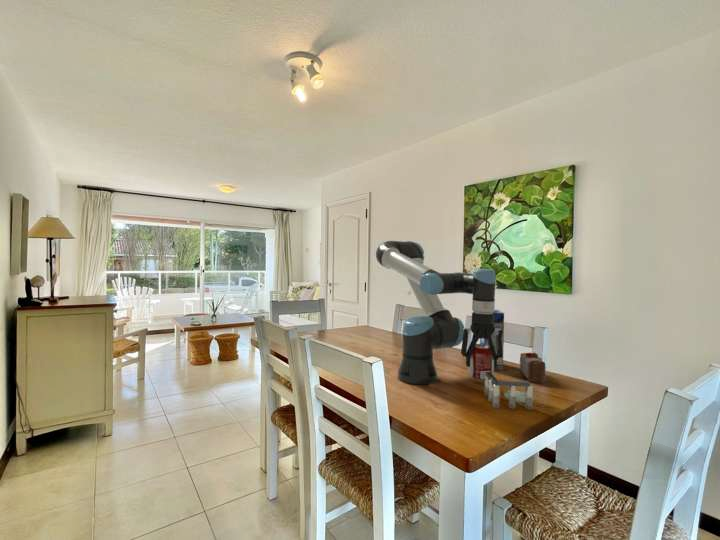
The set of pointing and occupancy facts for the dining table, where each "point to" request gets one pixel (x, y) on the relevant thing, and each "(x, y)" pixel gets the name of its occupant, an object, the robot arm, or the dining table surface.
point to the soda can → (481, 361)
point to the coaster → (517, 396)
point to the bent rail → (494, 391)
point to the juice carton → (498, 325)
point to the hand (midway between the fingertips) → (480, 375)
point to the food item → (532, 367)
